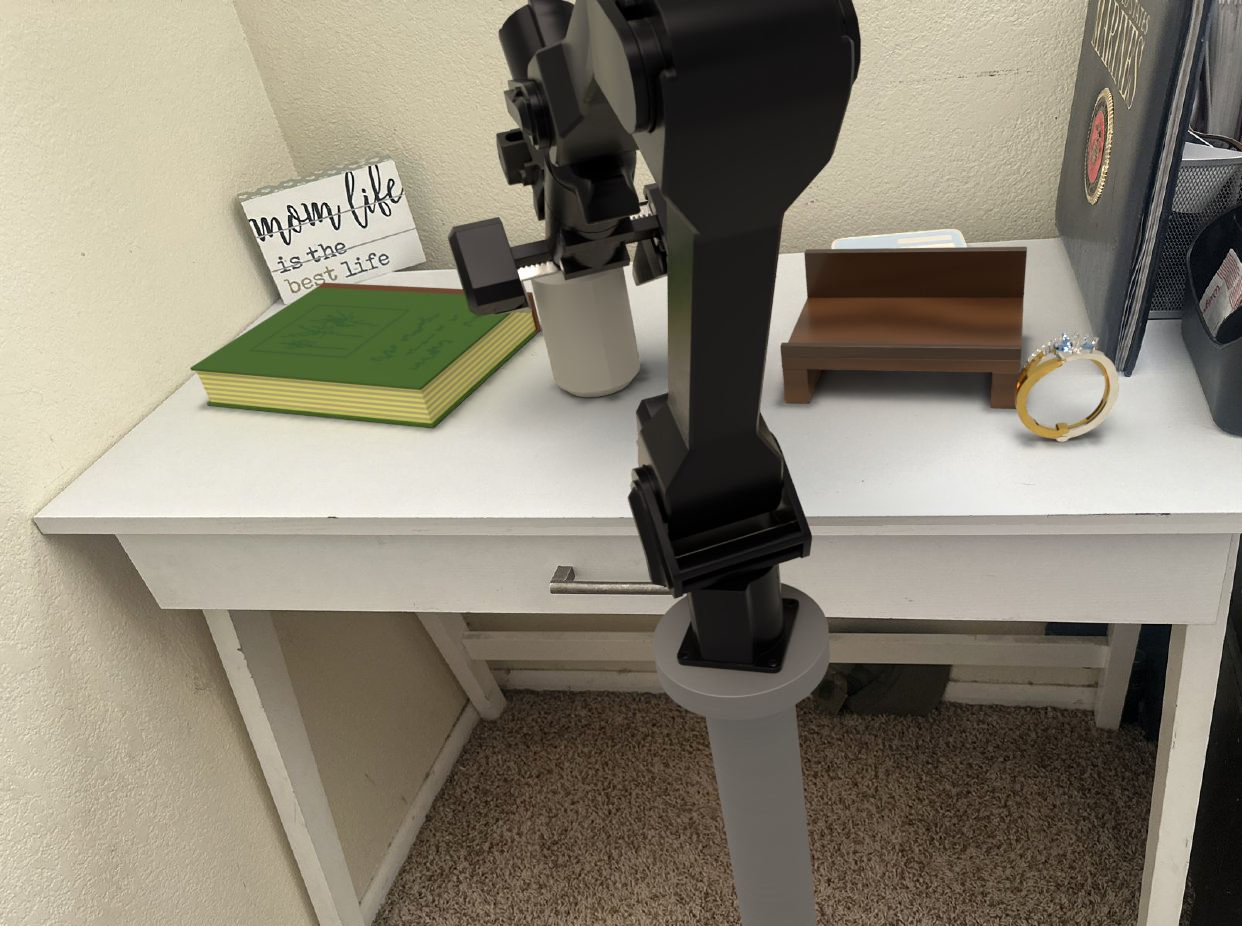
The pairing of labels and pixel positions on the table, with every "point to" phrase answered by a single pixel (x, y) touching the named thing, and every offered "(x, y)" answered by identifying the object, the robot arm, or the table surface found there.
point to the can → (588, 331)
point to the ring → (1064, 351)
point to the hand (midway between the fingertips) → (582, 293)
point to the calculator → (904, 240)
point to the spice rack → (909, 315)
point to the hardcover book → (366, 355)
